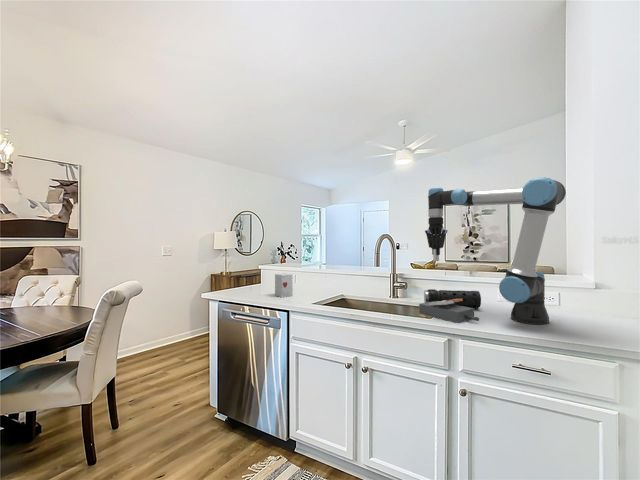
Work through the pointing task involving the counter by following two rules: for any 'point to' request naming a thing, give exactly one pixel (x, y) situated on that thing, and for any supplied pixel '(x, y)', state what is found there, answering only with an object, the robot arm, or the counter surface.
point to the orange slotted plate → (454, 300)
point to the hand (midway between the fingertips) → (436, 261)
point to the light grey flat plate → (441, 302)
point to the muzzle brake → (454, 297)
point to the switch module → (448, 312)
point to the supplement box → (283, 285)
